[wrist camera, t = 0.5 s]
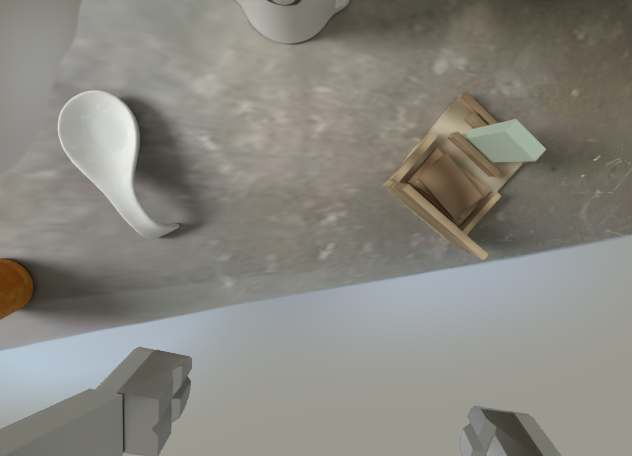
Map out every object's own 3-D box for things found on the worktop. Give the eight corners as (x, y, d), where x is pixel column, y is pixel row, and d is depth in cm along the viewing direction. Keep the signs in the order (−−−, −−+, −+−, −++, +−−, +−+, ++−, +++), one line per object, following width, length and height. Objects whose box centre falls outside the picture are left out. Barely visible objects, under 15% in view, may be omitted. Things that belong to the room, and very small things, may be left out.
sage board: (486, 162, 52) (535, 161, 41) (461, 139, 51) (505, 131, 40) (494, 153, 52) (546, 149, 41) (470, 129, 51) (516, 119, 40)
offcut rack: (447, 242, 55) (483, 259, 45) (382, 185, 53) (403, 189, 42) (523, 158, 53) (579, 156, 42) (458, 95, 50) (501, 75, 40)
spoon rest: (59, 116, 48) (18, 107, 41) (124, 82, 48) (94, 67, 41) (141, 246, 53) (116, 258, 46) (201, 216, 52) (186, 224, 45)
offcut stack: (451, 222, 54) (462, 226, 50) (405, 182, 52) (413, 183, 48) (481, 189, 53) (494, 190, 49) (435, 147, 51) (446, 145, 47)
